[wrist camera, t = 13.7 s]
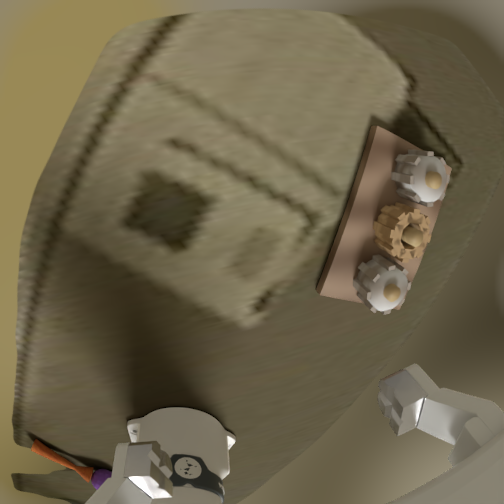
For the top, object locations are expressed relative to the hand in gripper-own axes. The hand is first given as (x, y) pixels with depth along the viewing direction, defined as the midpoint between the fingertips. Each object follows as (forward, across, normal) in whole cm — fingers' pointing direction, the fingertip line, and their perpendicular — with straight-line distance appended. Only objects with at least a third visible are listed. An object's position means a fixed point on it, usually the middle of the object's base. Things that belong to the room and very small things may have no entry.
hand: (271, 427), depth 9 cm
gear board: (+27, -21, +5) cm, 35 cm away
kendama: (+28, +44, +39) cm, 65 cm away
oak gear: (+26, -21, +5) cm, 34 cm away
